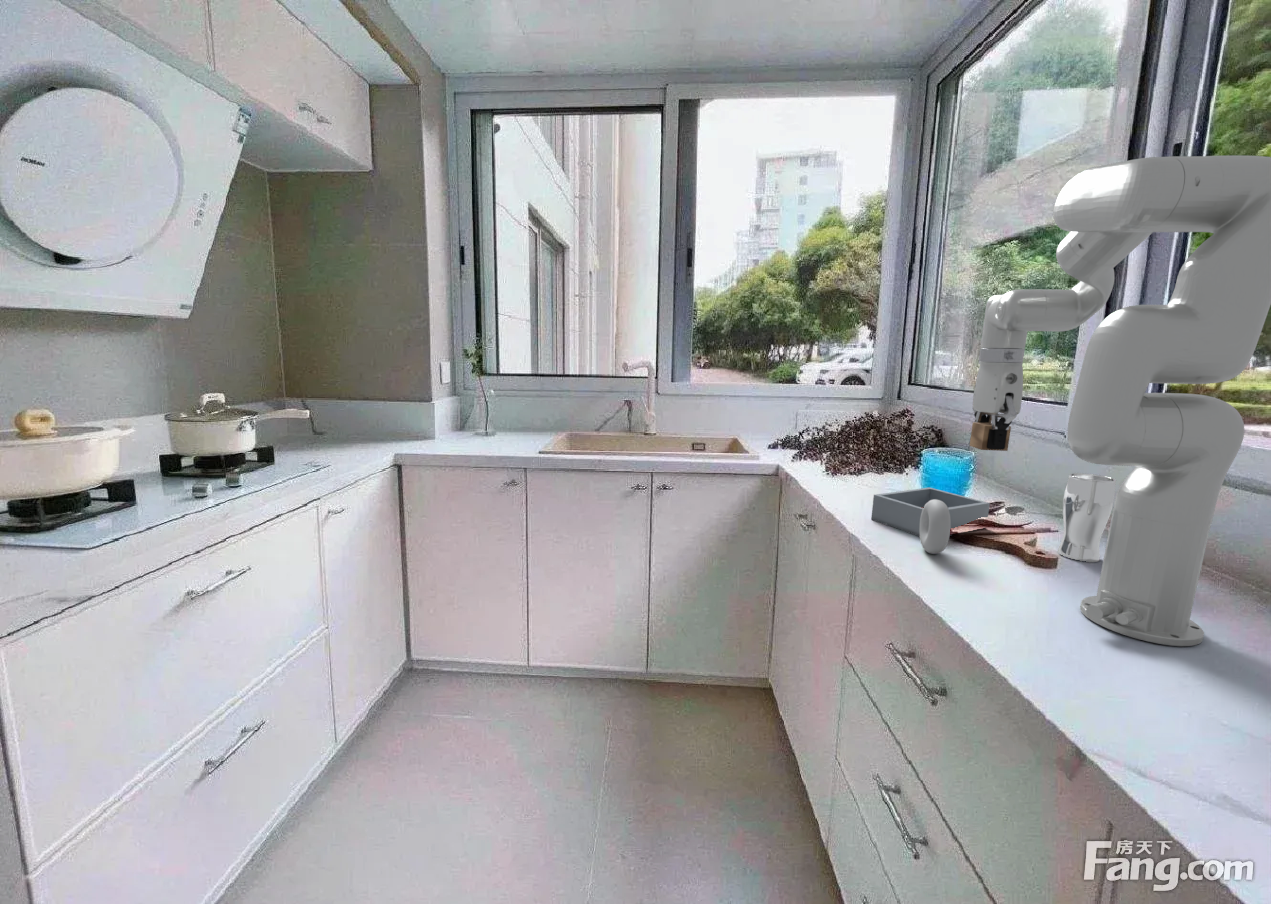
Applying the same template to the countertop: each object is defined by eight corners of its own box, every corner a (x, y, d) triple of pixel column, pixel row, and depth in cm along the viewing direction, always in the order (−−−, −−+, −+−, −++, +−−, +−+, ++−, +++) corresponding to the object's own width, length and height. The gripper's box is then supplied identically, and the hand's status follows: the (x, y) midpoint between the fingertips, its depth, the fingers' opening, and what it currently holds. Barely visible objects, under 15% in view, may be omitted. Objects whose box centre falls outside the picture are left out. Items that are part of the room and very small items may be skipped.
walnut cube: (1007, 450, 112) (1011, 426, 111) (981, 449, 113) (984, 425, 112) (994, 446, 117) (997, 423, 116) (969, 445, 117) (972, 422, 116)
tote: (928, 539, 109) (932, 512, 108) (871, 519, 121) (873, 494, 120) (986, 528, 116) (989, 503, 115) (926, 510, 129) (929, 487, 128)
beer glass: (1111, 565, 97) (1127, 482, 95) (1067, 561, 99) (1081, 480, 96) (1088, 551, 104) (1102, 474, 101) (1046, 548, 105) (1059, 471, 103)
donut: (948, 563, 97) (956, 508, 95) (927, 561, 97) (934, 506, 96) (934, 544, 106) (941, 494, 104) (915, 542, 107) (921, 492, 105)
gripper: (1047, 359, 103) (1031, 455, 106) (997, 357, 119) (985, 440, 123) (1004, 358, 103) (990, 453, 107) (961, 356, 120) (950, 439, 123)
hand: (988, 445), depth 115 cm, fingers closed on walnut cube, 4 cm apart
